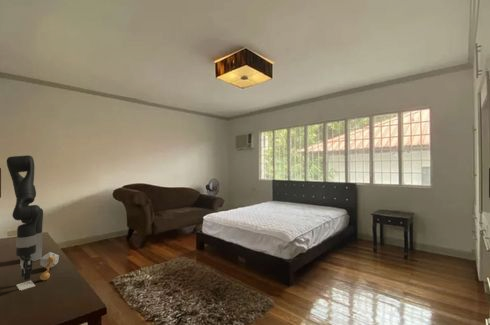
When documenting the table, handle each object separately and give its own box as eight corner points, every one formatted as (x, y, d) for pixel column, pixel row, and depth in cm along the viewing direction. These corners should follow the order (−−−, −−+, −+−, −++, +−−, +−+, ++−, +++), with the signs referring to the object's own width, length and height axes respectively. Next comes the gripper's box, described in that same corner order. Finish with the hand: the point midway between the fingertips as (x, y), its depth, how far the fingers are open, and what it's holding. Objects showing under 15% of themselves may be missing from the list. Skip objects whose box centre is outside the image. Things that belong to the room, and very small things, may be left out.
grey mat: (16, 285, 121) (16, 284, 121) (31, 280, 126) (31, 280, 126) (19, 290, 115) (19, 290, 115) (35, 286, 120) (35, 285, 120)
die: (48, 272, 136) (48, 255, 136) (35, 271, 137) (36, 253, 138) (62, 266, 144) (62, 249, 144) (50, 265, 146) (50, 248, 146)
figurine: (37, 279, 127) (38, 256, 128) (51, 275, 132) (52, 253, 133) (42, 283, 123) (43, 260, 123) (56, 279, 127) (57, 256, 128)
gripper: (13, 243, 122) (12, 276, 122) (19, 249, 114) (18, 285, 113) (32, 240, 128) (32, 271, 128) (39, 245, 119) (38, 279, 119)
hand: (25, 277), depth 121 cm, fingers open, 5 cm apart
